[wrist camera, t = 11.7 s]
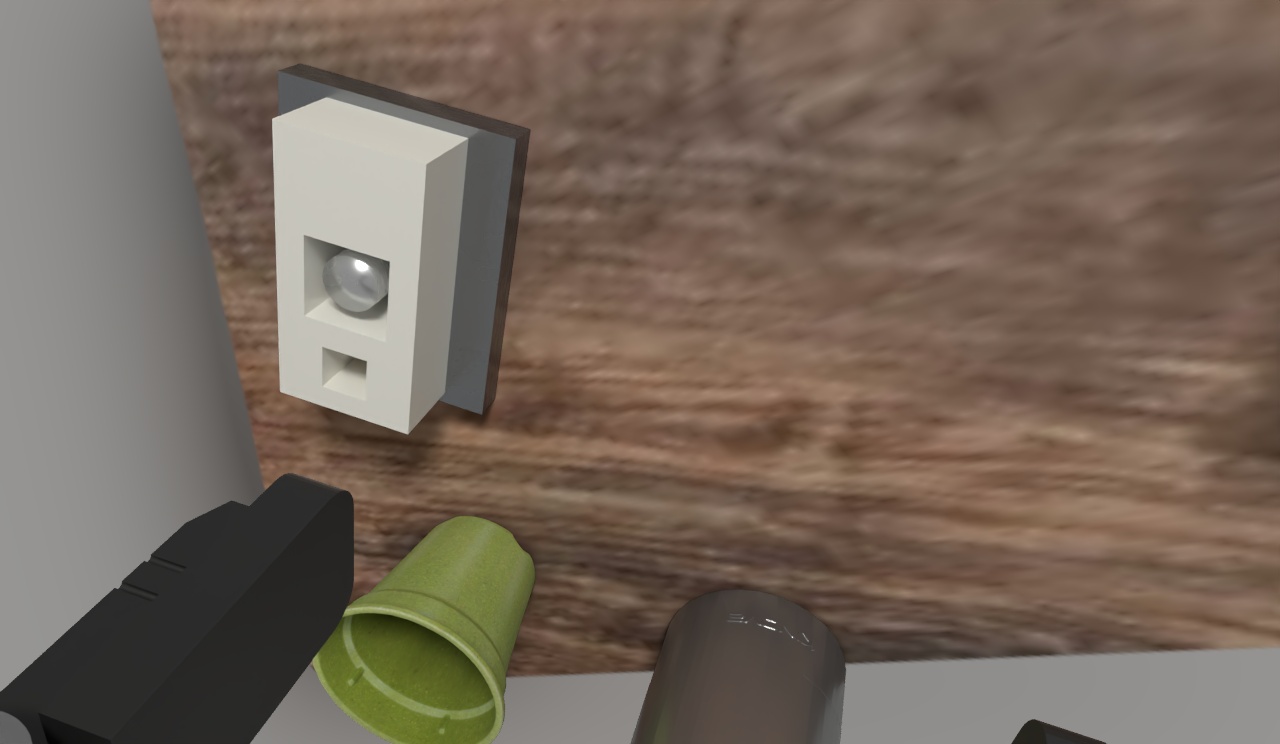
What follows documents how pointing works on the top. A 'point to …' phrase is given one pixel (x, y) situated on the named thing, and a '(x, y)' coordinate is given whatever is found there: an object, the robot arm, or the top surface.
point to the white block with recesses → (377, 226)
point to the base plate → (482, 228)
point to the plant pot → (433, 639)
